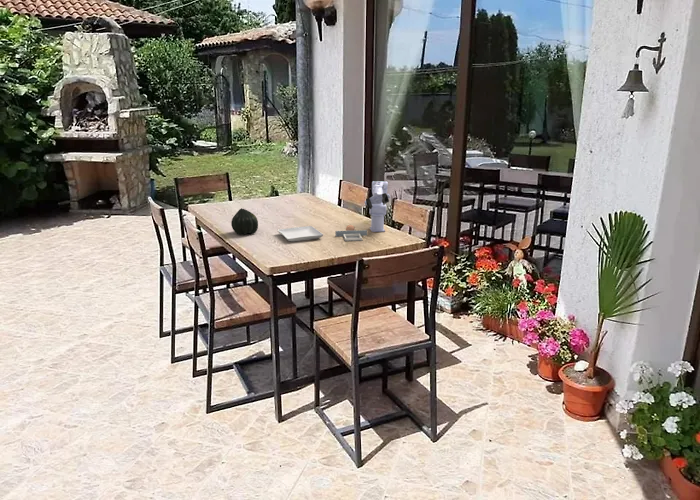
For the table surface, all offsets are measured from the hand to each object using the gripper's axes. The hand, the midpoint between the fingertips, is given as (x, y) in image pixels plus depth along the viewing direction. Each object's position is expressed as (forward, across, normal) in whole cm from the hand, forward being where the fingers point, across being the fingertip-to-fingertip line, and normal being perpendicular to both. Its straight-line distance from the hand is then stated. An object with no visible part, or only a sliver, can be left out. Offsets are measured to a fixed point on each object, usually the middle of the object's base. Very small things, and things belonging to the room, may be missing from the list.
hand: (376, 205), depth 292 cm
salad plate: (+3, -47, +4) cm, 47 cm away
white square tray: (+4, -19, +13) cm, 23 cm away
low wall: (-2, -20, +14) cm, 25 cm away
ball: (-7, -21, +12) cm, 25 cm away
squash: (-1, -78, -7) cm, 78 cm away
